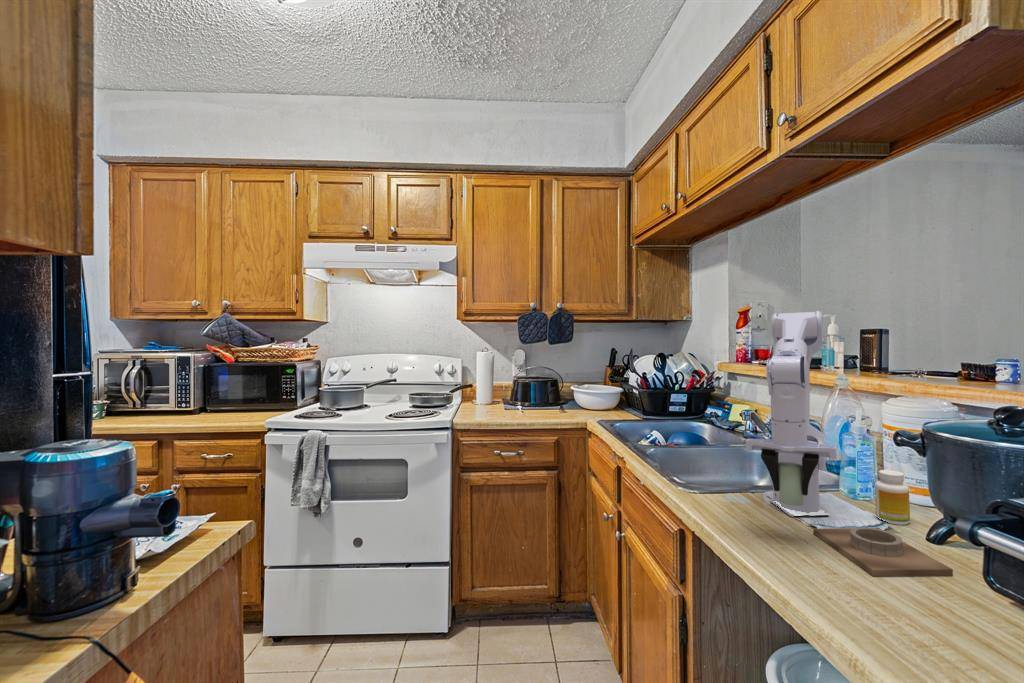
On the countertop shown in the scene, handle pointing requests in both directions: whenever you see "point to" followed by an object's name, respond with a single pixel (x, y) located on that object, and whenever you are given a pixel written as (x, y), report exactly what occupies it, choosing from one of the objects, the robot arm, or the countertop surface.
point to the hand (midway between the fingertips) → (790, 491)
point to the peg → (790, 483)
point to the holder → (881, 552)
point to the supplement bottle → (892, 498)
